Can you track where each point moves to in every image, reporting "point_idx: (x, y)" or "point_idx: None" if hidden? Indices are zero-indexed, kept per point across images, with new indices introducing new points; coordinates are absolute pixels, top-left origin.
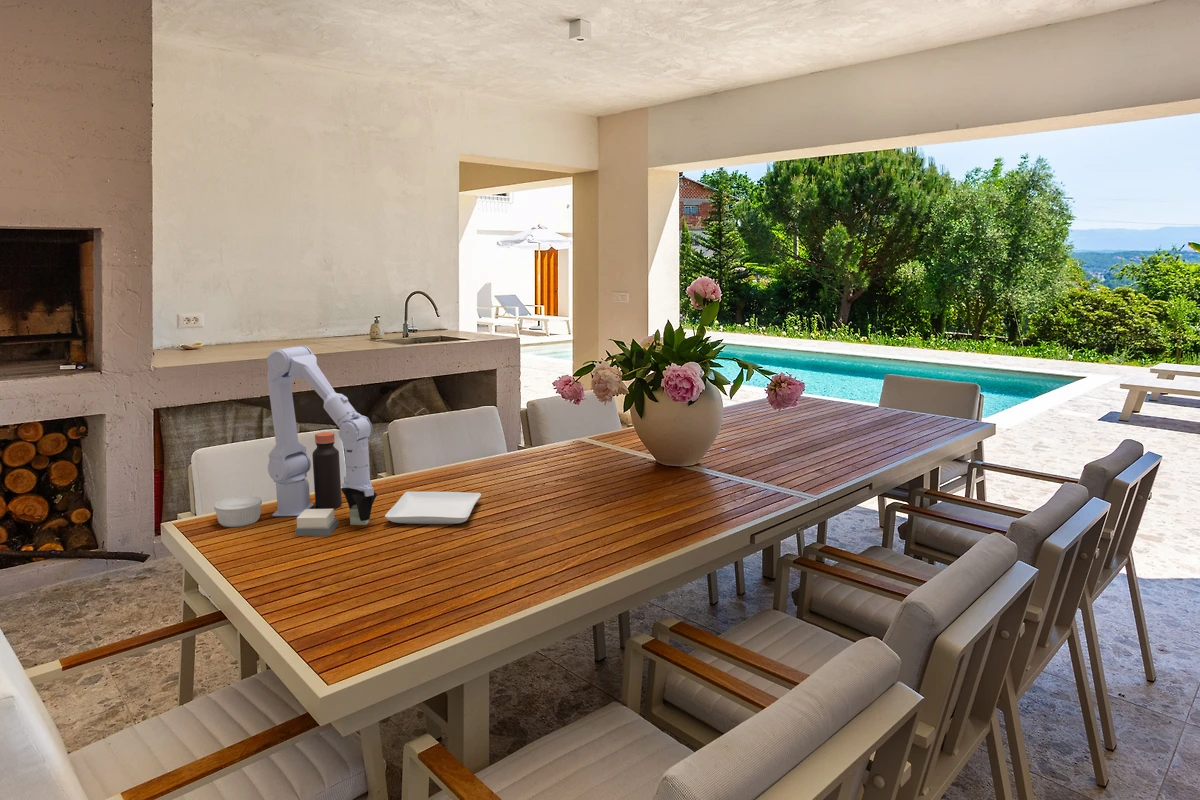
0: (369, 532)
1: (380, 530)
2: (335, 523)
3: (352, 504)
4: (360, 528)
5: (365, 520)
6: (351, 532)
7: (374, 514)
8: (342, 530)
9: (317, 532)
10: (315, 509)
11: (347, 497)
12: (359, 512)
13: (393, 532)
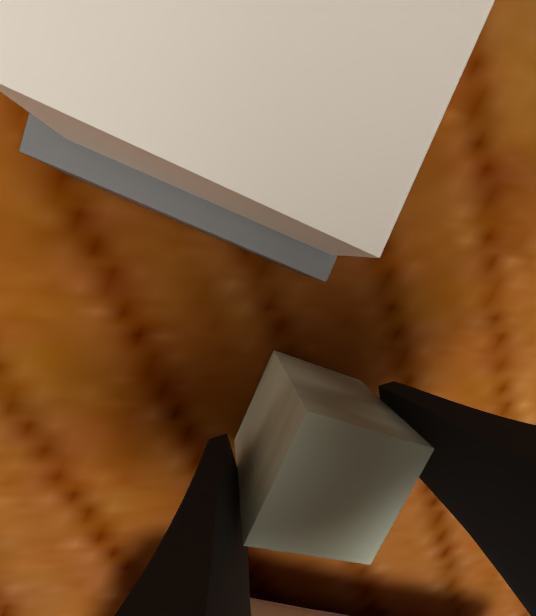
0: (63, 453)
1: (84, 513)
2: (253, 252)
3: (442, 442)
4: (175, 404)
5: (238, 457)
6: (106, 344)
7: None
8: (177, 290)
9: None
10: (466, 13)
11: (529, 467)
12: (189, 493)
13: (12, 581)
